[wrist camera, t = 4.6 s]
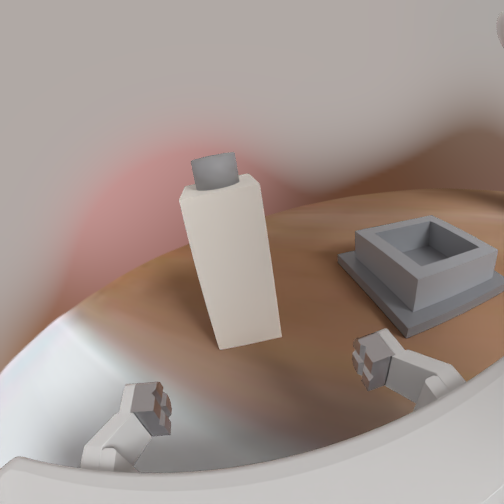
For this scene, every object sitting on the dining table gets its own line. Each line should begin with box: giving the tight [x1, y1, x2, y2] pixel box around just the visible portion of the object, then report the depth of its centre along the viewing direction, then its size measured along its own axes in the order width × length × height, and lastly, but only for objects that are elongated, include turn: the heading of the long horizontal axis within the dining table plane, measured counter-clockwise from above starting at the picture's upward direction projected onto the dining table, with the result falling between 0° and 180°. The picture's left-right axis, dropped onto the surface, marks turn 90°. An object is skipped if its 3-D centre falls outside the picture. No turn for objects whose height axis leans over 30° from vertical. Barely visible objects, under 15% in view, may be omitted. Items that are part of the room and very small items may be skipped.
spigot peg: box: [179, 152, 282, 350], centre depth 22 cm, size 5×5×14 cm
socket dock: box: [338, 215, 504, 338], centre depth 25 cm, size 14×14×4 cm
